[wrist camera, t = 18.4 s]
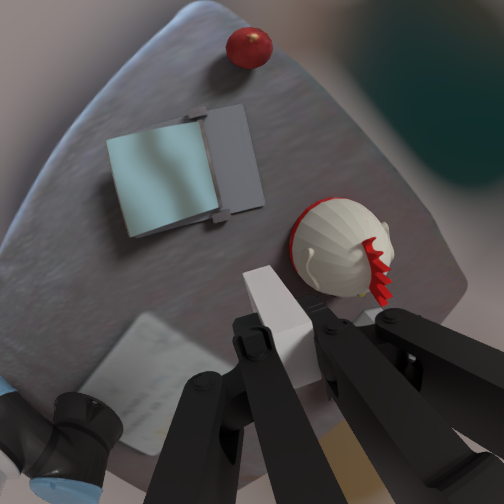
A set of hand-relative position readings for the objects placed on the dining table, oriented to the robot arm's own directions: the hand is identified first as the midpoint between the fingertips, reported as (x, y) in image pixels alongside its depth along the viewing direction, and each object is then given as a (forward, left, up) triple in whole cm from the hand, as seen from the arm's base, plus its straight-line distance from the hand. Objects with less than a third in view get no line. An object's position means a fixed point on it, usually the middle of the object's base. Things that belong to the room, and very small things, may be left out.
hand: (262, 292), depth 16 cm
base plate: (-4, +8, -26) cm, 27 cm away
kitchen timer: (+14, -7, -26) cm, 30 cm away
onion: (+7, +22, -26) cm, 34 cm away
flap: (-1, +8, -24) cm, 26 cm away
